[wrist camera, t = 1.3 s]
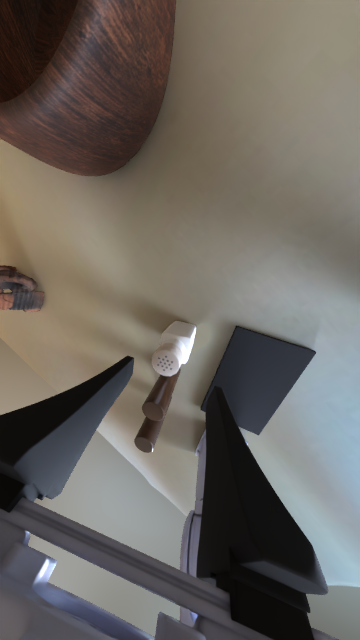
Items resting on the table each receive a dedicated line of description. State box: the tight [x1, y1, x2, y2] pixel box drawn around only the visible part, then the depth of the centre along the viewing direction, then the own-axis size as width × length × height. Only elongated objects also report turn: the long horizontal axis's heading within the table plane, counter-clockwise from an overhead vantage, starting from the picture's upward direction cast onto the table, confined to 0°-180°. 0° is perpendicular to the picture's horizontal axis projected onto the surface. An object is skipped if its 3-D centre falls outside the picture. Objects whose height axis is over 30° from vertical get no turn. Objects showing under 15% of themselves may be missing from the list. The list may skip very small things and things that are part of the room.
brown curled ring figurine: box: [0, 265, 44, 312], centre depth 26 cm, size 12×10×8 cm
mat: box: [201, 326, 316, 435], centre depth 22 cm, size 18×11×1 cm, turn 165°
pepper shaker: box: [151, 321, 196, 376], centre depth 18 cm, size 4×4×10 cm
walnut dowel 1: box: [142, 368, 180, 421], centre depth 21 cm, size 3×3×9 cm
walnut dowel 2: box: [134, 396, 172, 453], centre depth 23 cm, size 3×3×9 cm
